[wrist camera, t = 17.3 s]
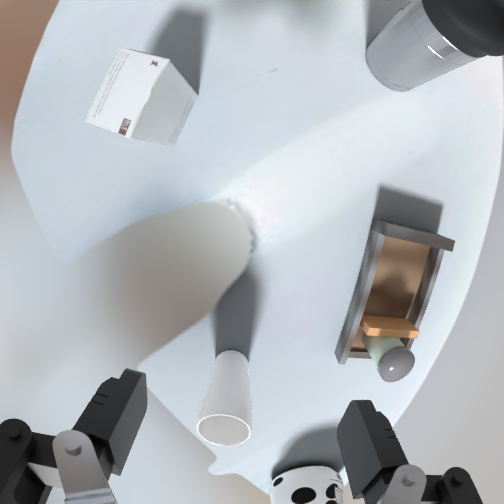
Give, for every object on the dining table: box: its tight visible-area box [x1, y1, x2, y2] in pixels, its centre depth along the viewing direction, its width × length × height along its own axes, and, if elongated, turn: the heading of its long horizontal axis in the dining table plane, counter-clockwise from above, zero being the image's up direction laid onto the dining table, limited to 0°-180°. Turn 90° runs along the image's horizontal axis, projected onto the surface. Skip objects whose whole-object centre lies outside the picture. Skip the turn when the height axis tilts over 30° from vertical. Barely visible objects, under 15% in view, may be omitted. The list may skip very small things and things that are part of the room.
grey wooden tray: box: [335, 218, 455, 364], centre depth 38 cm, size 22×12×5 cm, turn 171°
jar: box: [362, 332, 415, 382], centre depth 38 cm, size 5×5×9 cm
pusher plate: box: [360, 315, 419, 338], centre depth 39 cm, size 1×9×4 cm, turn 80°
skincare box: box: [85, 48, 198, 147], centre depth 28 cm, size 8×6×15 cm
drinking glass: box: [196, 350, 253, 446], centre depth 37 cm, size 7×7×15 cm
